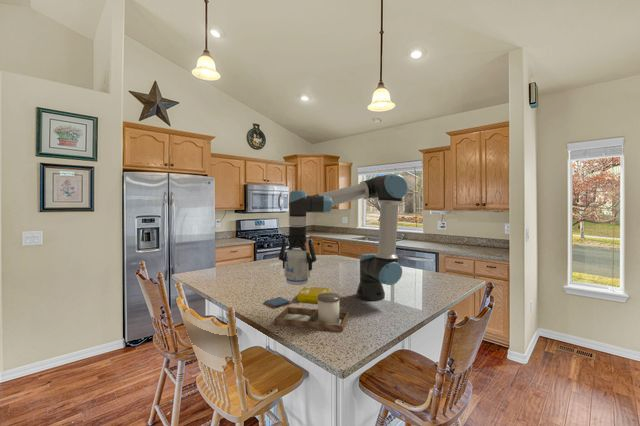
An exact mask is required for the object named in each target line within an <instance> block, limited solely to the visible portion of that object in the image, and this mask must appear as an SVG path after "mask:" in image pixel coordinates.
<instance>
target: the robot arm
mask: <svg viewBox="0 0 640 426" xmlns="http://www.w3.org/2000/svg"><path fill="white" fill-rule="evenodd" d="M408 188H409V186H408V183H407V181H406V179H405V178H404V177H403V175H401V174H397V173H388V174H384V175H378V176H375V177H371V178H370V179H367V180H363V181H360V182H359V183H358V184H354V185H350V186H346V187H341V188H338V189H333V190H329V191H324V192H320V193H316V194H312V195H307V191H306V190H291V191H290V192H289V195H288V196H289V197H288V206H289V207H288V208H289V209H288V212H289V213H288V225H289V227H288V237H283V238H282V239H281V247H280V251H279V255H278V260H280V261H282V269H283V270H284V277H285V278H286V264H287V251H286V248H287V245H288V242H289V245H288V248H287V250H291V249H293V248H301V249H302V251H306V250H308V249H309V250H308V253H306V255H307V256H306V259H307V261H308V263H307V265H306V278H308V279H309V278H311V271H312V270H313V263H315V262H316V261H317V256H316V251H315V247H314V239H313V238H307V213H308V214H309V213H323V214H324V213H325V214H326V213H330V212H331V211H332V210H333V207H334V206H337V205H341V204H345V203H349V202H353V201H356V200H357V201H358V200H360V199H363V200H369V199H377V202H378V203H379V204H380V211H379V212H380V213H379V228H378V243H377V252H376V253H364V254H361V255H360V256H359V283H358V285H357V288H356V292H355V293H356V294H355V295H356V297H357V298H358V299H361V300H365V301H380V300H381V301H382V300H383V299H385V297H386V293H385V289H384V286H383V285H387V286H393V285H396V284H397V283H398V282H400V280H401V278H402V276H403V268H402V265H401V264H400V263H399V256H398V255H397V254H396V251H397V250H396V249H397V234H398V233H397V232H398V221H399V220H398V219H399V206H400V205H401V204H402V202H403V197H405V196H406V194H408V193H407V192H408ZM306 242H307V244H308V249H307V246H306Z"/></svg>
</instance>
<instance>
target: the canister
mask: <svg viewBox="0 0 640 426" xmlns="http://www.w3.org/2000/svg"><path fill="white" fill-rule="evenodd" d="M317 299H318V304H317V309H318V316H317V319H318V322H319V323H328V324H339V319H340V317H339V312H340V301H341V295H340V294H337V293H335V292H330V293H322V294H319V295H318V296H317Z"/></svg>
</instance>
